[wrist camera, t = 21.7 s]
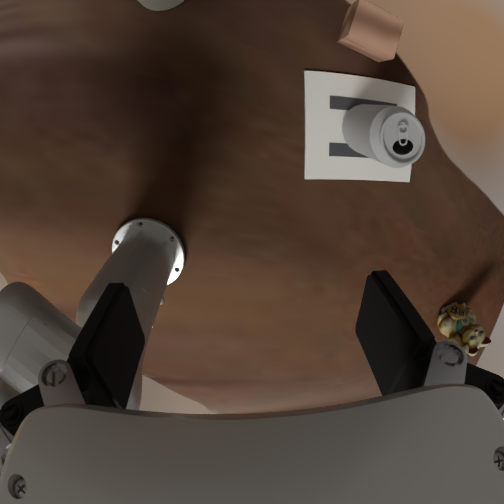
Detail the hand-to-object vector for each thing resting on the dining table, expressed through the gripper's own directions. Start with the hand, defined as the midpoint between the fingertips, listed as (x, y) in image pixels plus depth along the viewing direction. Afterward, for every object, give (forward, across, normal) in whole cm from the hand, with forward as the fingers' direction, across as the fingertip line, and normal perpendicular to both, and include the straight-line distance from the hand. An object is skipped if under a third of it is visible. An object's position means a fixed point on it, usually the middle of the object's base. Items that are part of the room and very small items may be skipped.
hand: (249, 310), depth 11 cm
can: (+32, -18, -5) cm, 37 cm away
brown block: (+32, -18, -20) cm, 42 cm away
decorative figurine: (+32, -48, +34) cm, 67 cm away
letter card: (+32, -18, -5) cm, 37 cm away
